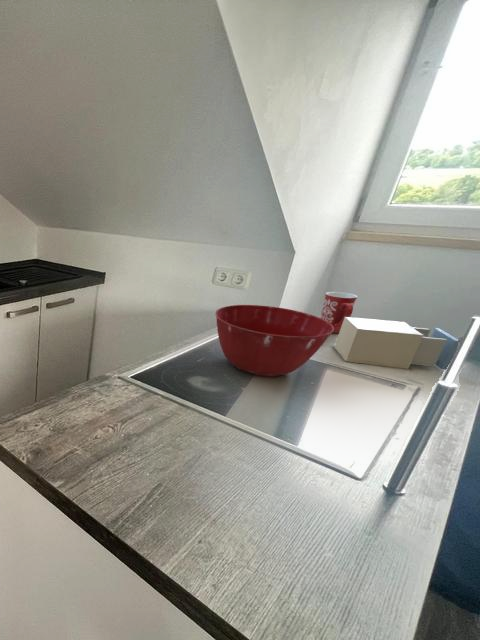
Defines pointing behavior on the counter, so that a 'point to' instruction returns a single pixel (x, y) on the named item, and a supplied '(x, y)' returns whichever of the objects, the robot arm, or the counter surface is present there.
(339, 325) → the mug
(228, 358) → the mixing bowl
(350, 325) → the beige rectangular block
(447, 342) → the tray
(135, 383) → the counter surface
